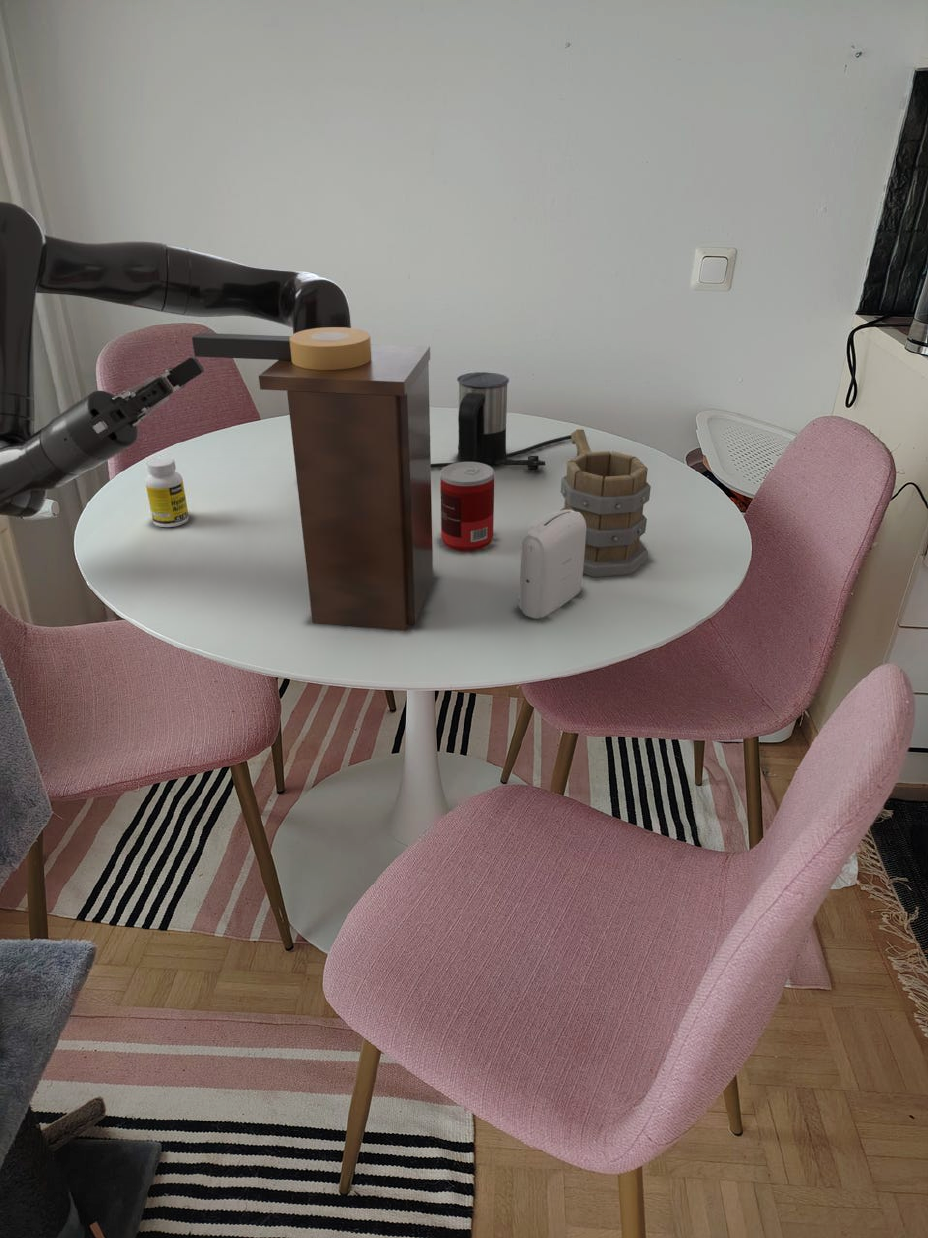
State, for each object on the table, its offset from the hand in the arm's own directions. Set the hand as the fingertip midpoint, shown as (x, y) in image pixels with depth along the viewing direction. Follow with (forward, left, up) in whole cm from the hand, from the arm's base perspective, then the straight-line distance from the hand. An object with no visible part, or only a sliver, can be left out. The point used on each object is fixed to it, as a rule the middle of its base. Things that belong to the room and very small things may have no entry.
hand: (183, 373), depth 101 cm
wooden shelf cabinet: (-14, +14, -29) cm, 35 cm away
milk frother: (-58, -12, -29) cm, 66 cm away
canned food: (-35, +9, -29) cm, 46 cm away
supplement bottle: (-2, -24, -29) cm, 38 cm away
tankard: (-49, +21, -29) cm, 61 cm away
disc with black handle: (-9, +9, +2) cm, 13 cm away
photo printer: (-33, +30, -29) cm, 53 cm away
